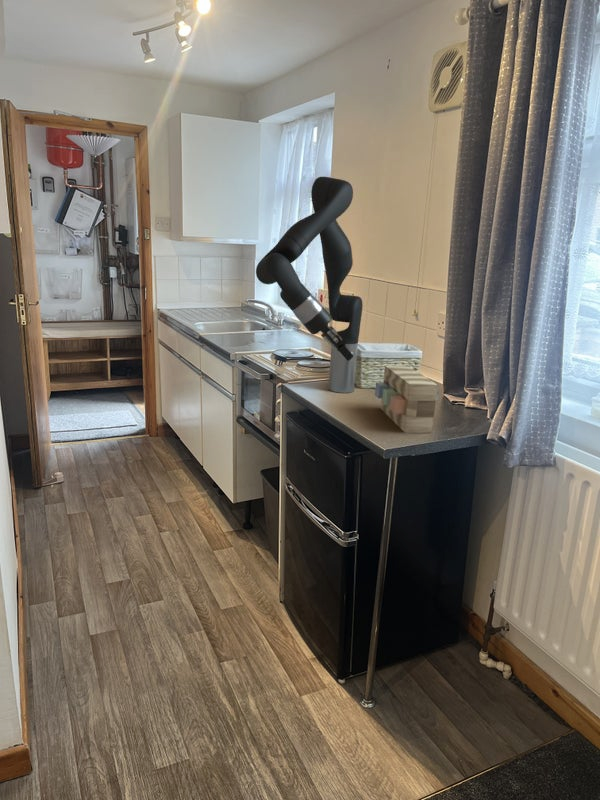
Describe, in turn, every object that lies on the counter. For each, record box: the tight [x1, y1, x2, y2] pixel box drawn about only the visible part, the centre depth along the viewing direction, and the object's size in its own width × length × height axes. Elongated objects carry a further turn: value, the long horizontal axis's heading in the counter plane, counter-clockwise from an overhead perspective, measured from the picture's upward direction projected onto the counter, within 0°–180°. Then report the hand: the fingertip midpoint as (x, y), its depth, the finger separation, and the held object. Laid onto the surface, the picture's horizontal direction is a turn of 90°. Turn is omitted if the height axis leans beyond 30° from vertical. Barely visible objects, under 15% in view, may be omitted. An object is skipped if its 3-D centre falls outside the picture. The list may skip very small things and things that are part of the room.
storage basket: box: [355, 341, 423, 390], centre depth 218 cm, size 24×16×15 cm
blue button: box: [374, 383, 389, 399], centre depth 182 cm, size 4×3×4 cm
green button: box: [381, 389, 398, 406], centre depth 174 cm, size 4×3×4 cm
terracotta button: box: [390, 396, 406, 414], centre depth 166 cm, size 4×3×4 cm
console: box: [380, 366, 438, 434], centre depth 175 cm, size 24×8×14 cm, turn 8°
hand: (350, 358), depth 169 cm, fingers closed
